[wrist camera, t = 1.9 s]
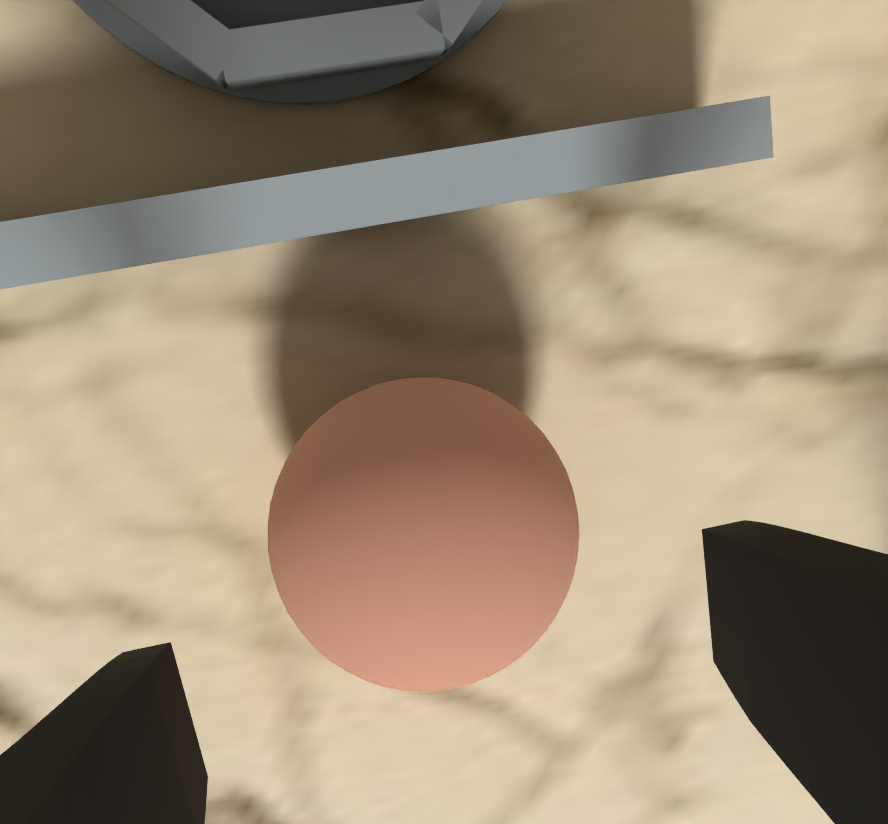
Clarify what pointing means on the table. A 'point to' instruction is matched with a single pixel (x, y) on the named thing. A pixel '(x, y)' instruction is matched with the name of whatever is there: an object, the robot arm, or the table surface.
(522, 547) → the ball
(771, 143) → the low wall
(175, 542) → the table surface
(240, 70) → the gray octagonal bowl
